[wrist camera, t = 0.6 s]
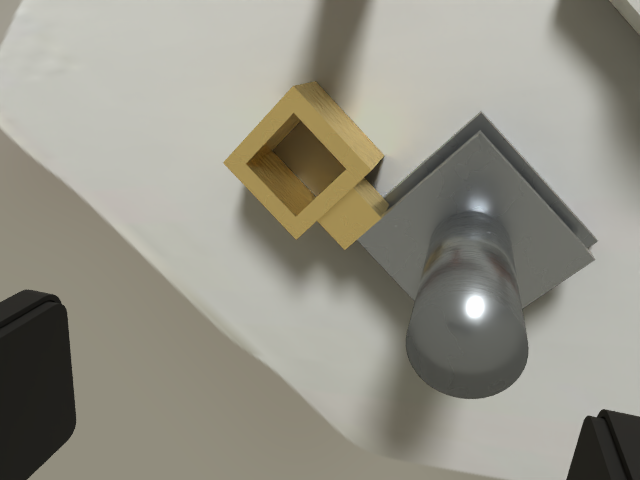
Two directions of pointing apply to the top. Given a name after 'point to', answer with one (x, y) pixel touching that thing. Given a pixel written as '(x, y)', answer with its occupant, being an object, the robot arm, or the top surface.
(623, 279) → the top surface
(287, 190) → the yellow and grey fixture
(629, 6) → the pipe rack
